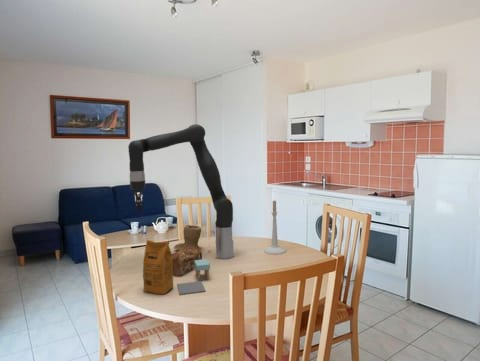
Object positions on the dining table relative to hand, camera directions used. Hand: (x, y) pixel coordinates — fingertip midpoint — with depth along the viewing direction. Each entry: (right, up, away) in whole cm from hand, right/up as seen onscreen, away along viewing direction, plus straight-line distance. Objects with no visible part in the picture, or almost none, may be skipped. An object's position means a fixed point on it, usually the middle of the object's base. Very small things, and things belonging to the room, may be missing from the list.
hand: (139, 211), depth 184 cm
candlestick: (+72, -25, +23) cm, 80 cm away
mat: (+30, -32, -27) cm, 52 cm away
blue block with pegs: (+34, -30, -15) cm, 48 cm away
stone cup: (+22, -26, +28) cm, 44 cm away
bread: (+24, -29, -3) cm, 38 cm away
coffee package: (+16, -32, -28) cm, 45 cm away
